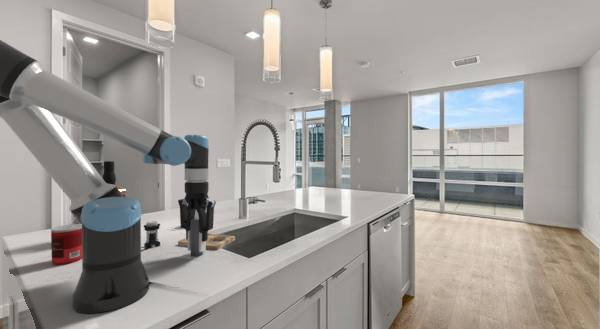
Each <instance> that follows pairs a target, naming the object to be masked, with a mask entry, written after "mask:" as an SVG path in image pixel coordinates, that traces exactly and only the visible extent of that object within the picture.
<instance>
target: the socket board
mask: <svg viewBox="0 0 600 329" xmlns="http://www.w3.org/2000/svg"><path fill="white" fill-rule="evenodd" d="M235 240H236V236H234V235H227V234H216V233H209V232H208V239H207V241H206V250H213V251H214V250H215V251H218V250H220V249H222V248H224V247H225V246H227V245H229V244H231V243H232V242H235ZM177 245H178V246H182V247H183V246H184V247H188V240H187V239H186V237H185V238H183V239H179V240H178V241H177Z"/></svg>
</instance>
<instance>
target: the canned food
mask: <svg viewBox="0 0 600 329" xmlns="http://www.w3.org/2000/svg"><path fill="white" fill-rule="evenodd" d="M50 232H51V234H50V238H51V239H50V240H51V241H50V242H51V244H50V245H51V247H50V248H51V263H52V265H55V266H64V265H70V264H74V263H77V262H79V261H81V260H82V224H81V223H80V224H78V223H72V224H64V225H59V226H55V227H53V228H51V231H50Z"/></svg>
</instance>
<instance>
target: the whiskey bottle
mask: <svg viewBox="0 0 600 329" xmlns="http://www.w3.org/2000/svg"><path fill="white" fill-rule="evenodd" d="M102 178H103V180H104V181H105V182H106V183H107V184H113V185H116V187H117V188H118V189H119V191H120V192H121V193H122V195H123V196H124V197H126V194H127V189H126V188H124V187H123V186H120V185H117V184H116V182H117V181H116V180H117V178H116V173H115V161H113V160H105V161H103V174H102Z"/></svg>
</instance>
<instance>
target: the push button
mask: <svg viewBox="0 0 600 329" xmlns="http://www.w3.org/2000/svg"><path fill="white" fill-rule="evenodd" d="M160 226H161V223H158V221H156V220H153V221H151V220H150V221H147V222H146V224H144V225H143V228H144V231H146V233H145V234H146V239H145V243H144V244H143V245H144V246H141V252H142V251H147V250H149V249H155V248H158V247H161V241H159V238H158V235H159V234H158V233H159V232H158V230H160Z"/></svg>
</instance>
